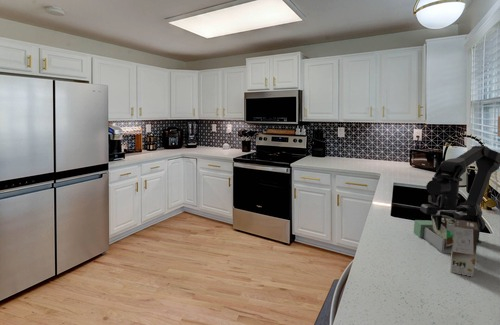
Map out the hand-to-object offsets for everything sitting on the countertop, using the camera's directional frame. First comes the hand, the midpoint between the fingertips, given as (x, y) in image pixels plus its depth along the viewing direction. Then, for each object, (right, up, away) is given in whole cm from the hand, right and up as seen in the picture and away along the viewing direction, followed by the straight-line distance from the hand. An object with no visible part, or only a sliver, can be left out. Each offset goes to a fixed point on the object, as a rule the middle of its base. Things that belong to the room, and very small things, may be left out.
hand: (446, 230), depth 119 cm
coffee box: (-7, -9, -18) cm, 22 cm away
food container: (+1, -5, +1) cm, 5 cm away
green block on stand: (0, -6, +4) cm, 7 cm away
